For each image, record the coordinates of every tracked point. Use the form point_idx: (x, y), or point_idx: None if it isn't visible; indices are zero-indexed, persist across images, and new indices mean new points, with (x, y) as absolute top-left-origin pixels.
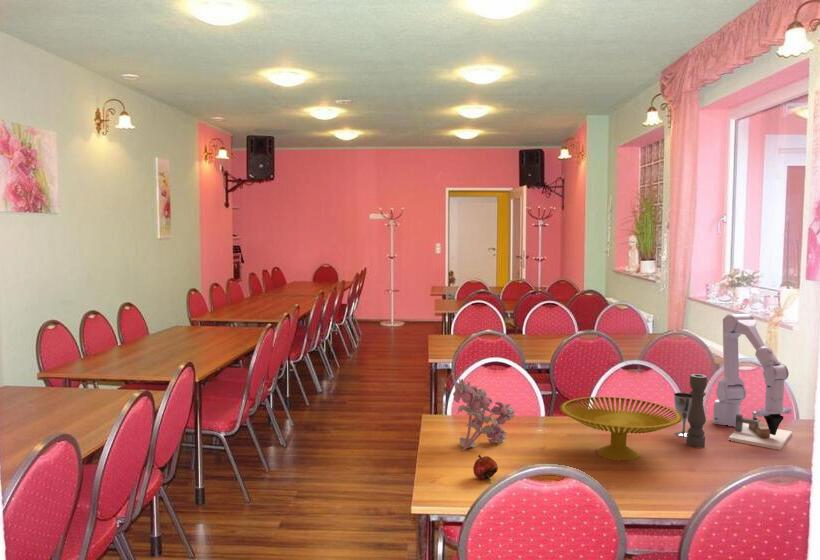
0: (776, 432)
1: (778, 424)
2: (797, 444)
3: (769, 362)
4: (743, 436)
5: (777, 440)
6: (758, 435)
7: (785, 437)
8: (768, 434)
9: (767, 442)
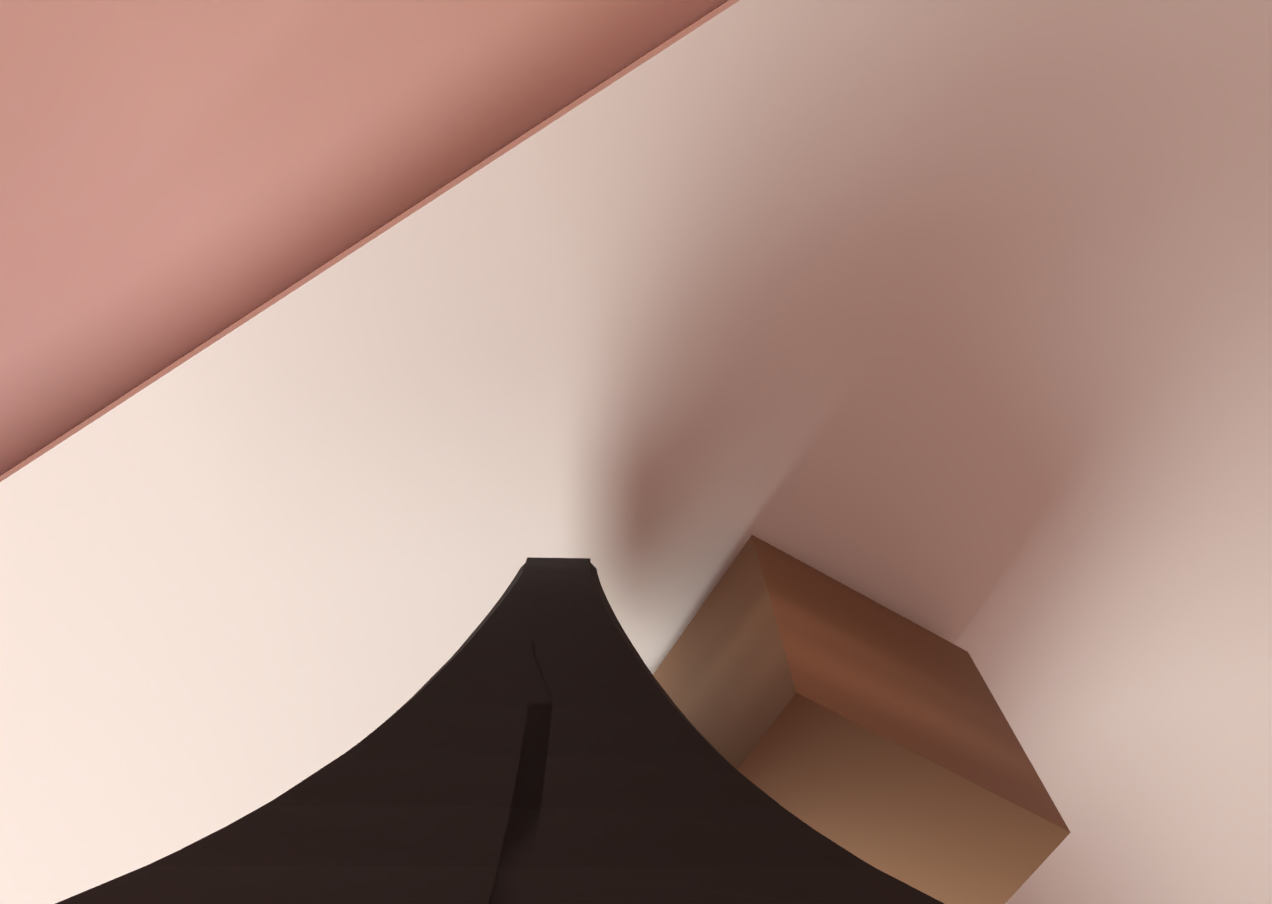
0: (30, 887)
1: (429, 747)
2: (26, 13)
3: None
4: (1244, 883)
5: (647, 320)
6: None
7: (109, 476)
8: (808, 614)
9: (1162, 269)
